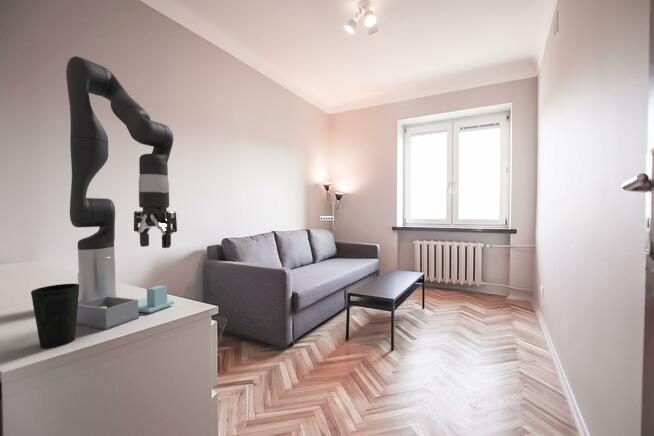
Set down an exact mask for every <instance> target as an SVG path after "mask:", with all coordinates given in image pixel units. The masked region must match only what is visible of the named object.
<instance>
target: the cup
mask: <svg viewBox="0 0 654 436" xmlns="http://www.w3.org/2000/svg"><path fill="white" fill-rule="evenodd" d="M30 295H31V300H32V306H33V311H34V312H33V313H34V319H35V324H36V330H37V337H38V341H39V347H40V348H41V349H53V348H54V349H55V348H59V347H62V346H64V345H65V346H66V345H68V344H70V343H72V342H74V341H75V340H76V334H77V332H76V331H77V324H76V322H77V310H78V304H79V284H78V283H61V284H53V285H47V286H43V287H39V288H35V289H32V290H31V291H30Z"/></svg>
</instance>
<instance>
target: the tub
mask: <svg viewBox="0 0 654 436" xmlns="http://www.w3.org/2000/svg"><path fill="white" fill-rule="evenodd" d="M138 300H139V299H135V298H128V297H127V298H126V297H119V296H116V297H112V296H106V297H102V298H98V299H94V300H90V301H87V302H83V303H80V302H78V310H77V322H76V326H77V325H79V326H83V327H89V328H94V329H99V330H105V331H108V330H110V329H113V328H117V327H119V326H121V325H124V324H128V323H129V322H133V321H135V320H137V319H139V315H140V314H139V313H140V312H139V311H138Z"/></svg>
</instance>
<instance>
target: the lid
mask: <svg viewBox="0 0 654 436" xmlns="http://www.w3.org/2000/svg"><path fill="white" fill-rule="evenodd" d="M137 300H138V313H147V314H152V313H155V312H158V311H161V310H163V309H166V308H168V307H170V306H172V305H175V300H169V299H168V286H167V285H156V286H152V287H149V288H146V297H144V298H141V299H137Z"/></svg>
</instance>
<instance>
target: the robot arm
mask: <svg viewBox="0 0 654 436" xmlns="http://www.w3.org/2000/svg"><path fill="white" fill-rule="evenodd" d="M65 73H66V74H65V76H66V86H67V93H68V94H67V95H68V103H69V112H70V113H69V114H70V121H69V122H70V133H69V134H70V137H69V138H70V140H69V141H70V143H69V144H70V165H71V185H70V199H69V200H70V201H69V218H70V222H71V224H72V225H73V227H75V228H98V231H97V232H95V233H93V234H92V235H90V236H87V237H84V238H82V239H79V240H78V242H77V263H78V273H77V284H79V297H78V303H83V302H87V301H90V300H94V299H98V298H102V297H106V296H112V297H117V290H116V289H117V287H116V286H117V285H116V282H117V281H116V258H115V257H116V255H115V239H116V237H115V236H116V232H115V229H116V227H115V226H116V225H115V224H116V208H115V204H114V202H113V200H112V199H110V198H105V197H104V198H100V197H97V198H96V197H87V192H88V190H89V189H88V188H89V187H90V184H91V182H92V181H93V179H94V177H95V176H96V175H97V174H98V173H99V172H100V170H101V169H102V168H103V167H104V165H105V164H106V163H107V161H108V159H109V137H108V135H107V132H106V130H105V128H104V127H103V124H102V123H101V122H100V120H99V118H98V117H97V115H96V114H95V112H94V110H93V108H92V107H93V106H92V105H91V100H90V94H91V95H95V96H100V97H103V98H105V99H106V100H107V101H109V102H110V109H111V110H112V112H113V114H114V115H115V116H116V118H117V119H119V121H121V122H122V123H123V124H124V125H125V127H126V129H127V130H128V133H129V135H130V137H131V138H132V139H133V140H134V141H135V142H137V143H138V144H141V145H144V146H150V147H153V148H152V152H151V153H143V154H141V155H140V157H139V159H138V162H139V163H138V167H139V170H138V171H139V177H138V206H139V207H140V208H142V210H141V211H140V210H135V211H134V212H133V231H134V232H137V233H138V234H139V244H140V247H142V248H145V247H149V246H150V234H149V232H150V230H151V229H152V228H153V227H156V229H158V230H159V231H160V232H161V234H162V235H161V248H163V249H168V248H170V247H171V245H172V234H174V233H177V232H178V222H177V212H176V211H173V210H172V211H171V210H169V211H168V210H167V209H168V208H169V207H170V186H169V185H170V184H169V182H170V181H169V177H168V174H169V168H168V161H169V159H170V156H171V155H170V154H171V152H172V149H173V148H172V147H173V144H174V133H173V130H172V129H171V128H170V127H169V126H168V125H167V124H164V123H160V122H157V121H155V120H151V116H150V115H149V113H148V112H147V110H146V109H145V108H143V107H142V106H141V105H140V104H139V103H137V101H136V100H134V99H133V98H132V97H131V95H129V93H128V92H127V91H126V90H125V87H123V85H122V84H121V83H120V81H119V79H117V77H116V76H115V75H114V73H113V72H112V71H110V69H108V68H107V67H105V66H103V65H100V64H99V63H95V62H93V61H90V60H88V59H85V58H84V57H81V56H77V55H76V56H75V55H74V56H72V57H71V58H69V60H68V62H67V64H66V70H65Z"/></svg>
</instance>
